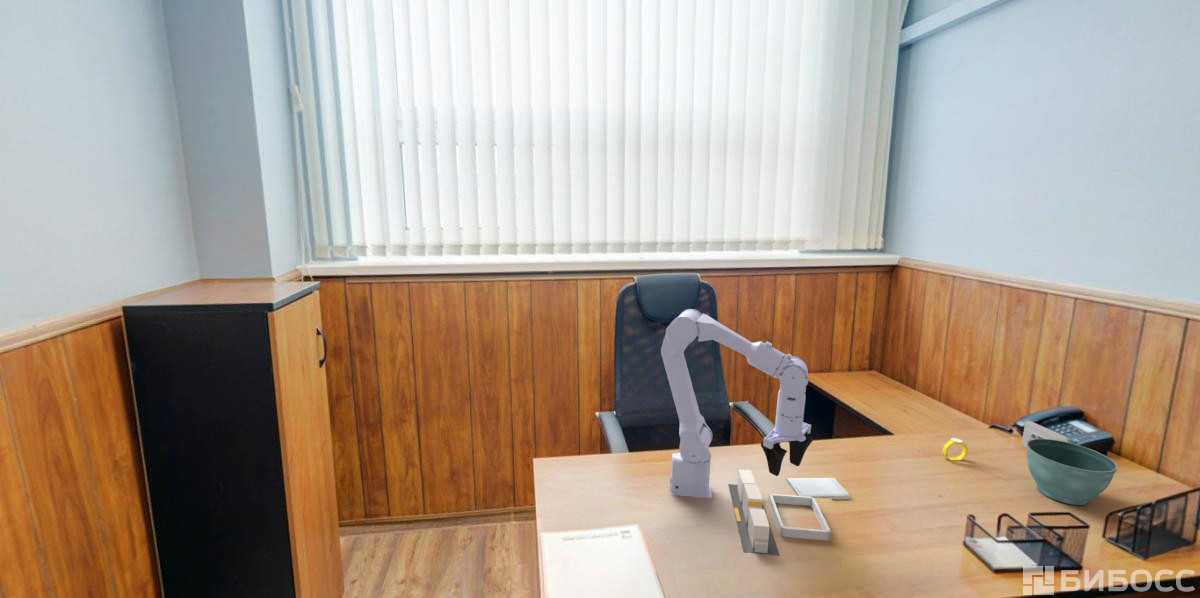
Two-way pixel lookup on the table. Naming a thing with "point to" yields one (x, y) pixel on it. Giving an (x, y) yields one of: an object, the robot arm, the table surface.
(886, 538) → the table surface
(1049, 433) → the cassette
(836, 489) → the hard drive
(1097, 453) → the teal green bowl
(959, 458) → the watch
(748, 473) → the block
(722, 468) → the table surface
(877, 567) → the table surface
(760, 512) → the block
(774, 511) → the tray
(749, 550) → the block
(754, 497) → the block
